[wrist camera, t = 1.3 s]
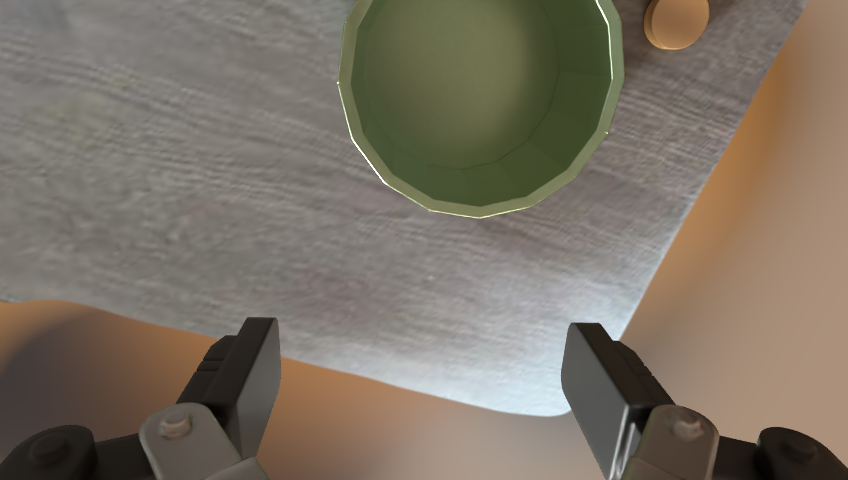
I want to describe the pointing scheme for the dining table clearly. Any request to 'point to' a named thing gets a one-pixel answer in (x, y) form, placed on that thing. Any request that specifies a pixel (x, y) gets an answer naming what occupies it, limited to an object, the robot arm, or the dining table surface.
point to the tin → (480, 96)
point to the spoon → (675, 22)
